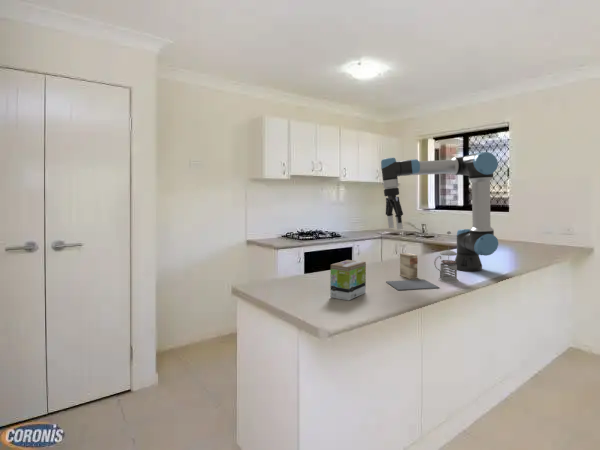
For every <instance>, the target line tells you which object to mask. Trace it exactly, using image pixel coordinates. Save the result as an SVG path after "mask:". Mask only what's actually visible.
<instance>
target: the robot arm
mask: <svg viewBox="0 0 600 450" xmlns="http://www.w3.org/2000/svg"><path fill="white" fill-rule="evenodd" d="M498 165H499V162H498V159H497V157H496V156H495V155H494V154H493V153H491V152H488V151H482V152H481V151H480V152H477V153H473V154H472V153H471V154H467V155H464V156H460V157H453V158H451V159H443V160H442V159H440V160H420V161H419V160H418V159H415V158H413V159H405V160H396V158H395V157H386V158H382V159H381V161H380V169H381V175H382V185H383V189H384V190H383V193H384V197H386V198H385V215H386V216H387V225H388V229H394V228H395V226H394V218H393V216H394V214H395V221H396V222H395V223H396V230H397V231H398V230H403V228H404V227H403V226H404V225H403V219H402V218H403V217H402V216H403V215H404V213H403V209H402V206H401V205H402V204H401V202H400V196H398V195H400V190H399V189H400V188H399V178H398V177H403V176H421V175H424V176H425V175H427V176H428V175H444V174H445V175H446V174H451V175H453V176H468V180H469V181H470V182H471V197H472V198H471V203H472V204H471V208H472V210H471V211H472V212H471V213H472V227H470V228H467V229H466V228H465V229H464V228H463V229H458V230H457V231H456V253H457V255H455V259H454V261H456V263H454V264H457V271H463V272H478V271H479V272H480V271H482V270H483V265H482V261H481V258H480V256H491V255H493V254H494V253H495V252H496V251H497V250H498V246H499V240H498V238H497V236H496V235H495V232H494V231H495V230H494V228H493V227H491V181H492V180H493V179H494V172H496V170H497V169H498ZM393 211H394V212H395V213H393Z"/></svg>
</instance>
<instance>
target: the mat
mask: <svg viewBox="0 0 600 450" xmlns="http://www.w3.org/2000/svg"><path fill="white" fill-rule="evenodd" d="M385 283H386V284H388V285H389V286H391V287H393V288H394V289H395V290H396V291H413V290H414V291H415V290H431V289H432V290H433V289H440V287H439V286H438V285H437V284H434V283H432V282H430V281H428V280H426V279H424V278H423V279H409V280H407V279H406V280H405V279H404V280H387V281H385Z"/></svg>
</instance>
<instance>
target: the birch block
mask: <svg viewBox="0 0 600 450" xmlns="http://www.w3.org/2000/svg"><path fill="white" fill-rule="evenodd" d="M418 261H419V260H418V254H414V253H410V252H402V253H399V276H400V277H404V278H407V279H415V278H417V279H418Z"/></svg>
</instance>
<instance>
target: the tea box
mask: <svg viewBox="0 0 600 450" xmlns="http://www.w3.org/2000/svg"><path fill="white" fill-rule="evenodd" d="M366 265H367V264H366V261H360V260H351V259H346V260H343V261H340V262H335V263H332V264H330V279H329V280H330V285H329V286H330V298H333V299H339V300H344V301H351V300H353V299H354V298H357V297H359V296H361V295H362V296H363V295H364V294H366V289H367V288H366V286H367V285H366V284H367V283H366V276H367V274H366V269H367V268H366V267H367V266H366Z"/></svg>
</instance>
